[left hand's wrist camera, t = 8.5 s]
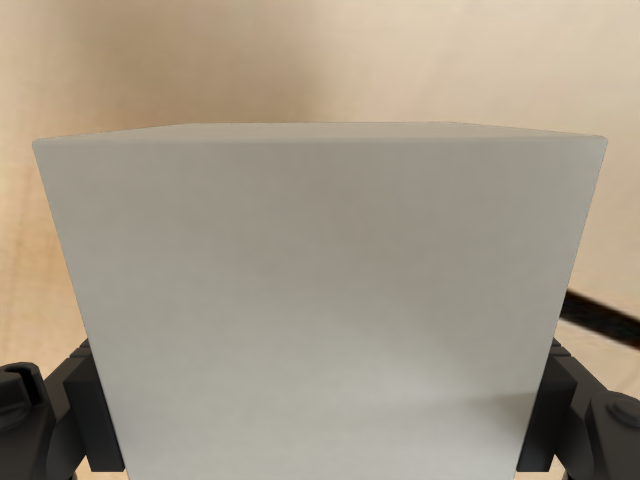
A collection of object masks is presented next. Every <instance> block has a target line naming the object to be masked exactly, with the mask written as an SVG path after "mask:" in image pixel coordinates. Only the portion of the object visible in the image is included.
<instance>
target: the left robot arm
mask: <svg viewBox="0 0 640 480" xmlns="http://www.w3.org/2000/svg"><path fill="white" fill-rule="evenodd" d="M554 454H555V455H556V456H557V458H558V459H559V460H560V462H561V463H562V465H563V466H564V468H565V472H564V475H563V478H562V480H640V401H639V400H638V399H636V398H633V397H631V396H628V395H625V394H623V393H619V392H613V391H608V390H607V389H606V388H605V387H604V386H603V385H602V384H601V383H600V382H599V381H598V380H597V379H596V378H595V377H594V376H593V375H592V374H591V373H590V372H589V371H588V370H587V369H586V368H585V367H584V366H583V365H582V364H581V363H580V362H579V361H577V360H576V359H575V358H574V357H571V354H570V353H569V352H568V351H567V350H566V349H565V348H564V347H561V344H560V343H559V342H558V341H557V340H556V339H555V338H554V337H553V340H552V343H551V347H550V351H549V354H548V358H547V361H546V365H545V368H544V372H543V376H542V379H541V383H540V386H539V390H538V393H537V397H536V401H535V404H534V408H533V411H532V415H531V419H530V422H529V426H528V429H527V433H526V436H525V440H524V443H523V447H522V451H521V454H520V458H519V461H518V465H517V468H516V470H517V472H549V469H550V466H551V463H552V460H553V457H554ZM85 455H86V456H87V459H88V462H89V465H90V468H91V471H92V472H123V471H124V469H125V464H124V461H123V457H122V454H121V450H120V447H119V444H118V440H117V437H116V433H115V430H114V426H113V423H112V419H111V416H110V412H109V409H108V406H107V402H106V399H105V395H104V392H103V388H102V385H101V381H100V378H99V375H98V371H97V368H96V364H95V361H94V357H93V354H92V350H91V347H90V344H89V340H88V338H87V339H86V340H85V341H84V342H83V343H82V344H81V345H80V347H79V348H77V349H76V350H75V351H74V352H73V353H72V354H71V355H70V357H69V358H67V359H65V360H64V361H63V362H62V363H61V364H60V365H59V366H58V367H57V368H56V369H55V370H54V371H53V372H52V373H51V374H50V375H49V376H48V377H47V378H46V379H45V380H44V381H43V379H42V376H41V373H40V370H39V367H38V366H37V365H35V364H33V363H29V362H18V363H12V364H7V365H4V366H1V367H0V480H77V475H76V472H75V470H76V469H77V467H78V466H79V464H80V463H81V461H82V460H83V458H84V457H85Z"/></svg>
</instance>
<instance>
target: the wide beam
mask: <svg viewBox="0 0 640 480" xmlns="http://www.w3.org/2000/svg"><path fill="white" fill-rule="evenodd" d="M607 143H608V142H607V138H605V137H603V136H597V135H586V134H575V133H565V132H554V131H543V130H532V129H522V128H511V127H500V126H489V125H479V124H468V123H457V122H331V123H187V124H177V125H167V126H158V127H148V128H138V129H129V130H119V131H109V132H100V133H90V134H80V135H71V136H61V137H51V138H42V139H37V140H35V141H33V142H32V147H33V150H34V154H35V157H36V161H37V164H38V168H39V171H40V175H41V178H42V182H43V185H44V188H45V192H46V195H47V199H48V202H49V206H50V209H51V213H52V216H53V219H54V223H55V226H56V230H57V233H58V237H59V240H60V244H61V247H62V250H63V254H64V257H65V261H66V264H67V268H68V271H69V275H70V278H71V281H72V285H73V288H74V292H75V295H76V299H77V302H78V306H79V309H80V313H81V316H82V319H83V323H84V326H85V330H86V333H87V337H88V340H89V344H90V347H91V350H92V354H93V357H94V361H95V364H96V368H97V371H98V375H99V378H100V381H101V385H102V388H103V392H104V395H105V399H106V402H107V406H108V409H109V412H110V416H111V419H112V423H113V426H114V430H115V433H116V437H117V440H118V444H119V447H120V450H121V454H122V457H123V461H124V464H125V468H126V471H127V475H128V478H129V480H513V479H514V476H515V472H516V468H517V465H518V461H519V458H520V454H521V451H522V447H523V443H524V440H525V436H526V433H527V429H528V426H529V422H530V419H531V415H532V411H533V408H534V404H535V401H536V397H537V393H538V390H539V386H540V383H541V379H542V376H543V372H544V368H545V365H546V361H547V358H548V354H549V351H550V347H551V343H552V340H553V336H554V333H555V329H556V325H557V322H558V318H559V315H560V311H561V308H562V304H563V300H564V297H565V293H566V290H567V286H568V282H569V279H570V275H571V272H572V268H573V265H574V261H575V257H576V254H577V250H578V247H579V243H580V240H581V236H582V232H583V229H584V225H585V222H586V218H587V214H588V211H589V207H590V204H591V200H592V197H593V193H594V189H595V186H596V182H597V179H598V175H599V171H600V168H601V164H602V161H603V157H604V154H605V150H606V146H607Z"/></svg>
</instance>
